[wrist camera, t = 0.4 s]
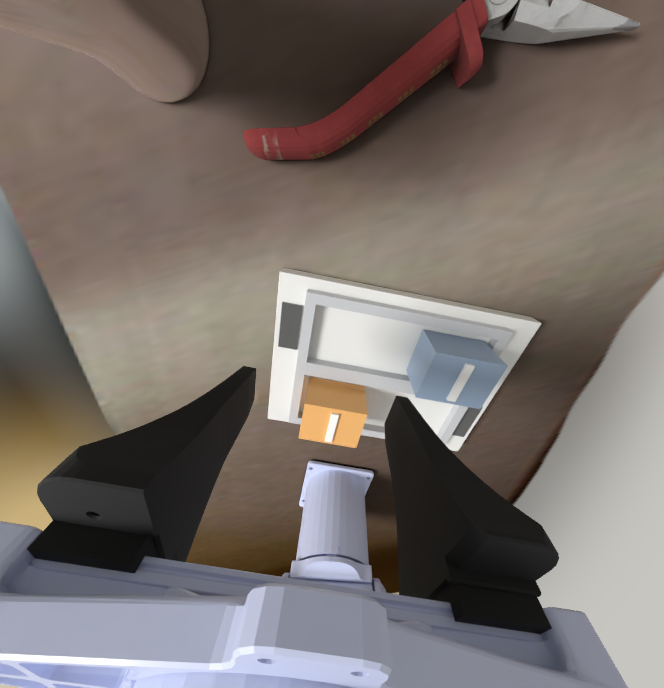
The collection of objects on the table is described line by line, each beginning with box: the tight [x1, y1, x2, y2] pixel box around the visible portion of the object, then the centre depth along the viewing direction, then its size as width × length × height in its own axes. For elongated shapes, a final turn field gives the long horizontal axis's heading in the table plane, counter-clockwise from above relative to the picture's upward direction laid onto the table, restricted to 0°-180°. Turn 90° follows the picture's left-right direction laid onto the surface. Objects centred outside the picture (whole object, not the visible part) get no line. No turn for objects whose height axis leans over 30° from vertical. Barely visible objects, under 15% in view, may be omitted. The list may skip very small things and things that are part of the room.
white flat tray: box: [268, 268, 542, 451], centre depth 23 cm, size 15×20×2 cm
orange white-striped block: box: [299, 377, 368, 448], centre depth 22 cm, size 4×5×4 cm
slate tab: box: [406, 329, 508, 409], centre depth 19 cm, size 4×5×4 cm
